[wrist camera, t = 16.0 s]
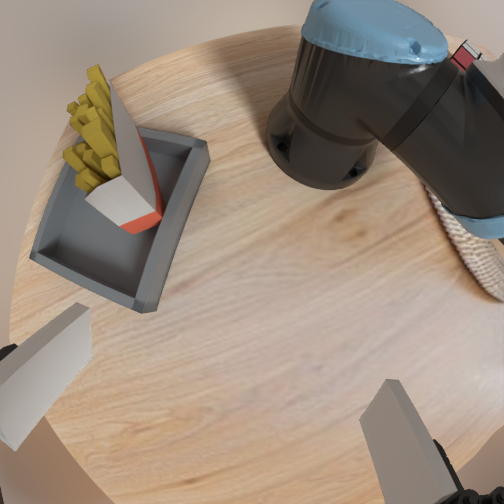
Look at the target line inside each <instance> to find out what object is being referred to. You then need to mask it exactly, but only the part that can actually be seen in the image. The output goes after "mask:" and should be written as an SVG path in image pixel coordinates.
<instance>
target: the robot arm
mask: <svg viewBox="0 0 504 504" xmlns="http://www.w3.org/2000/svg"><path fill="white" fill-rule="evenodd" d="M301 33H302V37H301V41H300V45H299V50H298V54H297V58H296V63H295V67H294V72H293V76H292V80H291V85H290V89H289V91H288V92H287V93H286V94H285V95H284V97H283V98H282V99H281V100H280V101H279V102H278V104H277V105H276V106H275V107H274V109H273V110H272V112H271V114H270V116H269V119H268V124H267V130H266V141H267V146H268V149H269V152H270V154H271V156H272V158H273V159H274V161H275V162H276V164H277V165H278V166H279V167H280V168H281V169H282V170H283V171H284V172H285V173H286V174H287V175H288V176H290V177H291V178H293V179H294V180H296V181H298V182H300V183H302V184H304V185H306V186H309V187H312V188H316V189H322V190H337V189H342V188H345V187H348V186H350V185H352V184H354V183H355V182H356V181H358V180H359V179H360V178H361V177H362V176H363V175H364V174H365V173H366V172H367V170H368V169H369V167H370V166H371V164H372V162H373V159H374V155H375V151H376V147H377V142H378V140H379V141H380V142H381V143H382V144H384V145H385V146H386V147H387V148H388V149H389V150H390V151H391V152H392V153H393V154H394V155H395V156H396V157H397V158H399V159H400V160H401V161H402V162H403V163H404V164H405V165H406V166H407V167H408V168H409V169H410V170H411V171H412V172H413V173H414V174H415V175H416V176H417V177H418V178H419V179H420V180H421V181H422V182H423V183H424V184H425V185H426V186H427V187H428V189H429V190H430V191H431V192H432V193H433V194H434V195H435V196H436V197H437V198H438V200H439V201H440V202H441V205H442V206H443V208H444V209H445V210H446V211H447V212H448V213H449V214H450V215H452V216H454V217H455V218H456V220H457V221H458V222H459V223H460V224H461V225H462V226H463V228H464V229H465V230H466V231H468V232H469V233H471V234H473V235H475V236H477V237H480V238H484V239H498V238H503V237H504V53H503V54H502V55H501V57H500V58H499V59H498V60H496V61H494V62H492V61H484V60H474V61H473V62H472V63H471V64H470V65H469V66H468V68H467V69H466V70H465V71H462V70H461V69H459V68H458V67H457V66H456V65H455V64H454V63H453V62H452V61H450V60H449V59H448V58H447V57H446V56H447V55H448V42H447V39H446V38H445V36H444V35H443V33H442V32H441V31H440V30H439V29H438V28H436V27H435V26H433V24H432V22H431V21H429V20H428V19H426V18H425V17H424V16H422V15H421V14H419V13H418V12H416V11H415V10H413V9H411V8H409V7H407V6H405V5H403V4H401V3H399V2H397V1H394V0H314V1H313V3H312V5H311V7H310V10H309V13H308V16H307V19H306V21H305V23H304V24H303V26H302V29H301ZM92 358H93V353H92V340H91V320H90V308H89V307H86V306H84V305H82V304H80V303H77V302H76V303H75V304H74V305H72V306H71V307H69V308H68V309H67V310H65V311H64V312H63V313H61V314H60V315H59V316H57V317H56V318H55V319H53V320H52V321H51V322H49V323H48V324H47V325H45V326H44V327H43V328H41V329H40V330H39V331H37V332H36V333H35V334H34V335H32V336H31V337H30V338H28V339H27V340H26V341H25V342H23V343H22V344H21V345H20V346H17V345H16V344H12V345H9V346H6V347H3V348H2V349H1V350H0V439H1V440H2V441H3V442H5V443H6V444H7V445H8V446H9V447H10V448H12V449H13V450H14V451H16V450H17V449H18V447H19V446H20V445H21V443H22V442H23V441H24V439H25V438H26V437H27V436H28V434H29V433H30V431H32V429H33V428H34V427H35V425H36V424H37V423H38V422H39V420H40V419H41V418H42V417H43V415H44V414H45V413H46V412H47V410H48V409H49V408H50V407H51V406H52V404H53V403H54V402H55V401H56V400H57V398H58V397H59V396H60V395H61V394H62V392H63V391H64V390H65V389H66V388H67V386H68V385H69V384H70V383H71V382H72V381H73V379H74V378H75V377H76V376H77V375H78V374H79V373H80V371H81V370H82V369H83V368H84V367H85V366H86V365H87V363H88V362H89V361H90V360H91V359H92ZM359 421H360V424H361V427H362V429H363V432H364V435H365V438H366V441H367V444H368V448H369V451H370V454H371V457H372V460H373V463H374V466H375V469H376V473H377V476H378V479H379V483H380V486H381V489H382V493H383V496H384V500H385V503H386V504H504V487H497V488H496V489H495V490H493V491H492V492H491V493H490V494H487V495H479V494H478V493H477V492H476V491H474V490H470V489H467V490H464V488H463V487H462V485H461V483H460V481H459V479H458V477H457V475H456V473H455V471H454V469H453V467H452V465H451V464H450V461H449V459H448V457H446V456H447V455H446V453H445V451H444V449H443V447H442V446H441V445H440V444H439V443H438V442H437V441H436V440H435V439H433V440H432V438H431V436H430V434H429V432H428V430H427V429H426V427H425V425H424V423H423V421H422V419H421V418H420V416H419V414H418V412H417V410H416V409H415V407H414V405H413V403H412V402H411V400H410V398H409V397H408V395H407V393H406V391H405V390H404V388H403V386H402V385H401V383H400V381H399V380H392V379H386V380H385V382H384V383H383V385H382V386H381V388H380V390H379V391H378V393H377V394H376V396H375V397H374V399H373V400H372V402H371V403H370V405H369V406H368V408H367V409H366V411H365V412H364V413H363V415H362V416H361V418H360V419H359ZM0 504H4V502H3V498H2V493H1V488H0Z"/></svg>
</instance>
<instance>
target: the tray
mask: <svg viewBox="0 0 504 504" xmlns="http://www.w3.org/2000/svg"><path fill="white" fill-rule="evenodd" d="M136 128H137V130H138V132H139V133H140V135H141V137H142V139H143V140H144V142H145V144H146V146H147V149H148V152H149V155H150V157H151V160H152V163H153V165H154V168H155V171H156V175H157V179H158V182H159V186H160V190H161V193H162V197H163V201H164V204H165V213H164V215H163V218H162V220H161V223H160V224H159V225H156V226H154V227H151V228H149V229H146V230H144V231H141V232H139V233H136V234H134V235H133V234H131V233H129V232H128V231H126V230H124V229H123V228H121V227H119V226H118V225H117V224H115V223H114V222H113V221H111V220H110V219H109V218H107V217H106V216H105V215H104V214H102V213H101V212H100V211H98V210H97V209H96V208H95V207H93V206H92V205H91V204H90V203H88V202H87V201H86V200H85V197H86V195H87V194H88V193H87V192H85V191H83V190H82V189H80V188H78V187H77V186H75V176H76V175H77V174H79V173H78V172H77V171H76V170H75V169H74V168H73V167H72V166H71V165H70V164H69V163H67V162H66V163H65V165H64V167H63V169H62V171H61V173H60V175H59V178H58V180H57V182H56V184H55V187H54V189H53V191H52V194H51V196H50V198H49V201H48V203H47V206H46V209H45V211H44V214H43V217H42V219H41V222H40V225H39V228H38V231H37V234H36V237H35V240H34V244H33V247H32V250H31V254H30V257H29V258H30V259H31V260H33V261H35V262H36V263H38V264H40V265H42V266H44V267H45V268H47V269H49V270H51V271H53V272H54V273H56V274H58V275H60V276H62V277H64V278H66V279H68V280H70V281H72V282H74V283H76V284H78V285H80V286H82V287H84V288H86V289H88V290H90V291H92V292H94V293H96V294H98V295H100V296H103V297H105V298H107V299H109V300H111V301H113V302H116V303H118V304H120V305H123V306H125V307H127V308H129V309H132V310H134V311H137V312H139V313H141V314H143V313H149V312H155V311H156V310H157V307H158V304H159V300H160V297H161V294H162V291H163V287H164V284H165V281H166V278H167V275H168V272H169V269H170V266H171V263H172V260H173V257H174V254H175V251H176V248H177V246H178V243H179V240H180V237H181V234H182V232H183V229H184V226H185V223H186V221H187V218H188V215H189V213H190V210H191V207H192V205H193V202H194V200H195V197H196V195H197V192H198V190H199V187H200V185H201V182H202V180H203V177H204V175H205V172H206V170H207V168H208V165H209V163H210V156H209V151H208V146H207V142H206V141H205V140H201V139H196V138H192V137H187V136H183V135H178V134H173V133H168V132H163V131H158V130H152V129H147V128H141V127H136ZM82 141H84V142H86V141H85V140H84V139H83V137H82V136H81V135H80V136H79V138H78V140H77V142H76V144H77V143H80V142H82ZM86 143H87V142H86ZM76 144H75V145H74V147H75V148H76ZM76 149H77V148H76Z"/></svg>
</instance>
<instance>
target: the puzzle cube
mask: <svg viewBox="0 0 504 504" xmlns="http://www.w3.org/2000/svg"><path fill="white" fill-rule="evenodd" d="M449 60H450V61H452V62H453V63H454V64H455V65H456V66H457V67H458V68H459V69H461V70H462V71H465V70H466V69H467V68H468V66H469V65H470V64H471V63H472V62H473V61H474V60H484V61H489V60H488V59H487V58H486V57H485V56H484V55H483V54H482V53H481V52H480V51H479V50H478V49H477V48H476V47H475V46H474V45H473V44H472V43H471V42H470V41H468V40H466V41H465V42H463V43H462V44H461V45H460V47H459V48H458V49H457V50H456V52H455V53H454V54H453V56H452V57H451V58H450V59H449Z"/></svg>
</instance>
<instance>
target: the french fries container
mask: <svg viewBox="0 0 504 504" xmlns="http://www.w3.org/2000/svg"><path fill="white" fill-rule="evenodd" d="M87 76H88V78H89V80H90V81H91V84H88V85H87V87H86V90H85V92H86V93H87V94H86V93H85V94H83V95H81V96H79V97H78V100H79V103H80V105H81V106H80V105H79V104H77V103H76V102H75V101H74V102H72V103H70V104H69V105H68V108H67V112H69V113H70V114H71V115H73V116H72V117H70V125H71V126H72V127H73V128H74V129H75V130H76V131H77V132H78V133H79V134H80V135H81V136H82V137H83V139H84V140H85V141H86V142H87V143H86V142H84V141H82V142H80V143H77V144H76V148H77V149H76V148H75V147H74V146H73V145H72V146H70V147H69V148H67V149H66V150H65V151H63V159H64V160H65V161H66V162H67V163H69V164H70V165H71V166H72V167H73V168H74V169H75V170H76V171H77V172H78V173H79V174H77V175H76V176H75V186H77V187H78V188H80V189H82V190H83V191H85V192H87V193H88V194H87V195H86V197H85V200H86V201H87V202H88V203H90V204H91V205H92V206H93V207H95V208H96V209H97V210H98V211H100V212H101V213H102V214H104V215H105V216H106V217H107V218H109V219H110V220H111V221H113V222H114V223H115V224H117V225H118V226H119V227H121V228H123V229H124V230H126V231H128V232H129V233H131V234H133V235H134V234H136V233H139V232H141V231H144V230H146V229H149V228H151V227H154V226H156V225H159V224H160V223H161V220H162V218H163V215H164V213H165V204H164V201H163V197H162V193H161V190H160V186H159V182H158V179H157V175H156V171H155V168H154V165H153V163H152V160H151V157H150V155H149V152H148V149H147V146H146V144H145V142H144V140H143V139H142V137H141V135H140V133H139V132H138V130H137V128H136V127H135V125H134V123H133V121H132V120H131V118H130V116H129V114H128V112H127V111H126V109H125V107H124V105H123V104H122V102H121V100H120V98H119V96H118V95H117V93H116V91H115V89H114V87H113V85H112V84H111V82H110V80H108V81H106V79H105V77H104V75H103V73H102V71H101V69H100V67H99V65H95V66H93V67H91V68H89V69H87Z"/></svg>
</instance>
